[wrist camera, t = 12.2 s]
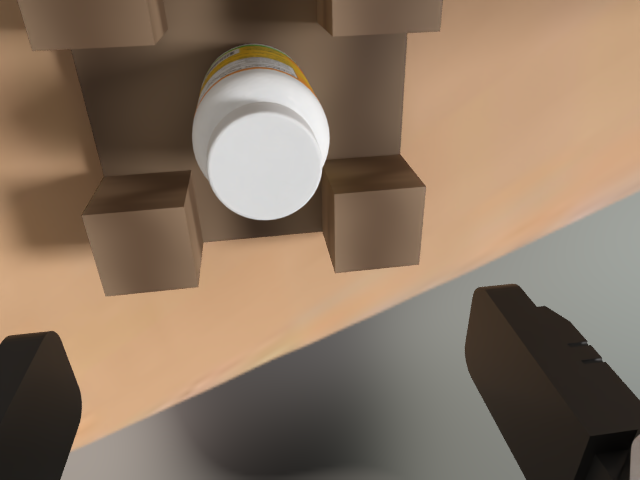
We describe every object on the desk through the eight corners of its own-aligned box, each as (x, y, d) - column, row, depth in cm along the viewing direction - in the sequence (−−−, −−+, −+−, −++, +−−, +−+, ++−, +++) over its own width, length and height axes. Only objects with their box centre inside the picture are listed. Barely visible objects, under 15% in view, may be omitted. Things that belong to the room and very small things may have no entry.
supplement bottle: (301, 153, 27) (330, 243, 19) (199, 143, 26) (183, 234, 18) (315, 49, 25) (356, 100, 16) (203, 34, 24) (186, 80, 15)
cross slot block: (408, -90, 23) (451, -100, 18) (391, 217, 31) (419, 264, 26) (44, -83, 21) (-11, -92, 17) (126, 241, 29) (105, 296, 25)
